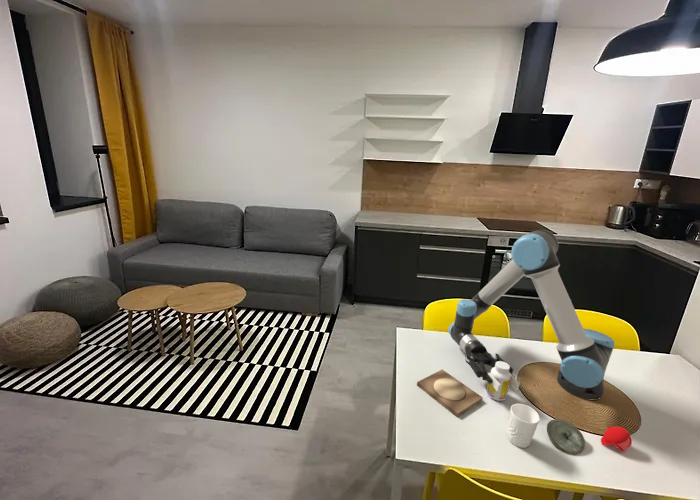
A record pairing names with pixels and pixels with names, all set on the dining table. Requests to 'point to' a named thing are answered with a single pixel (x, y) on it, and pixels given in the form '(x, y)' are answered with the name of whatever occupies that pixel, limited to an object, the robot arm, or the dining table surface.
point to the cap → (617, 438)
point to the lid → (565, 436)
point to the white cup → (521, 425)
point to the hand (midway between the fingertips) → (508, 387)
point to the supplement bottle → (500, 381)
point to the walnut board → (449, 392)
